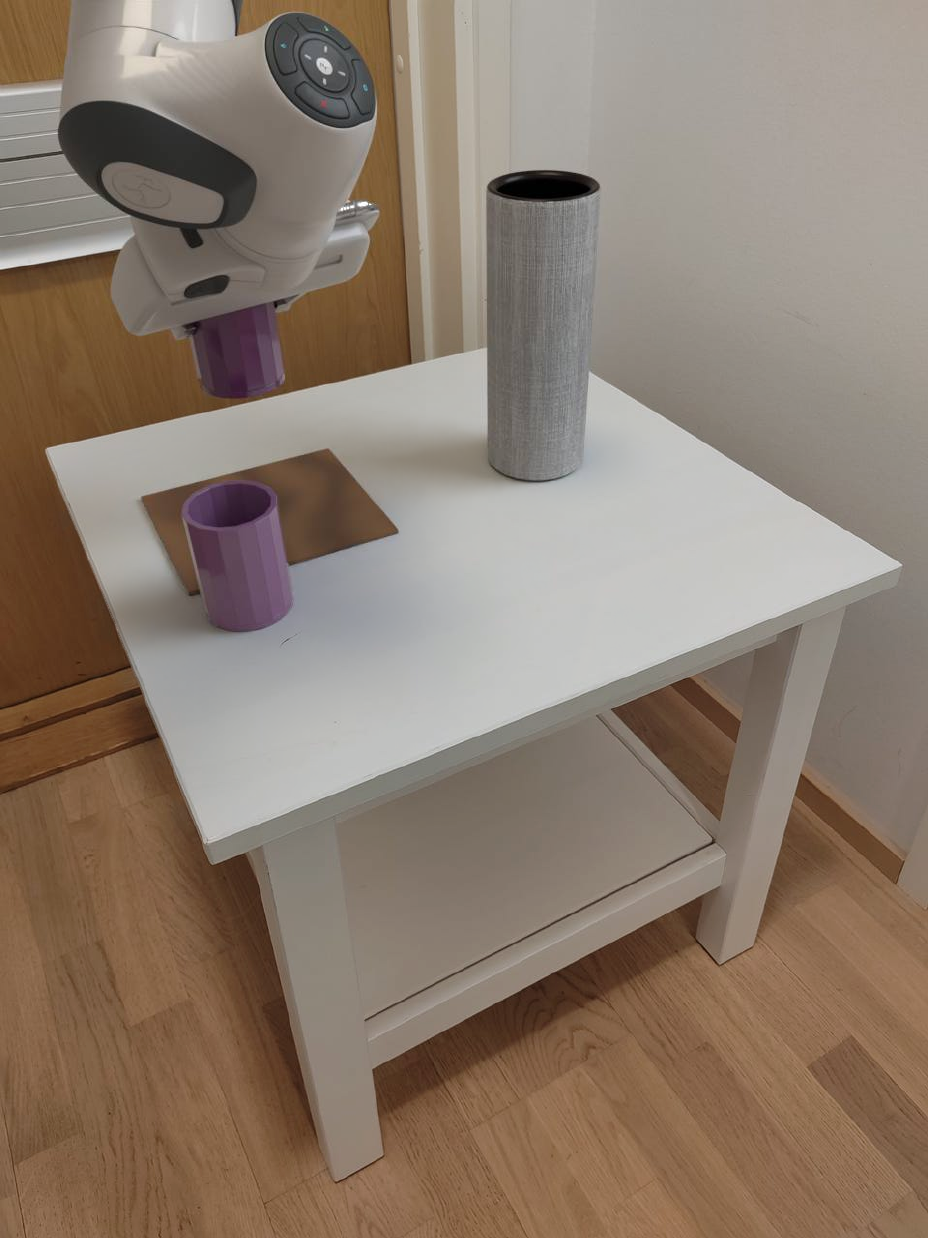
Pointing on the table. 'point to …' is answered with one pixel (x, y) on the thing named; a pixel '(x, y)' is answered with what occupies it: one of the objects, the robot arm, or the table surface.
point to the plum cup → (239, 352)
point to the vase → (539, 319)
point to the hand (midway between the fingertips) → (228, 317)
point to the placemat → (285, 510)
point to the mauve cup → (239, 554)
